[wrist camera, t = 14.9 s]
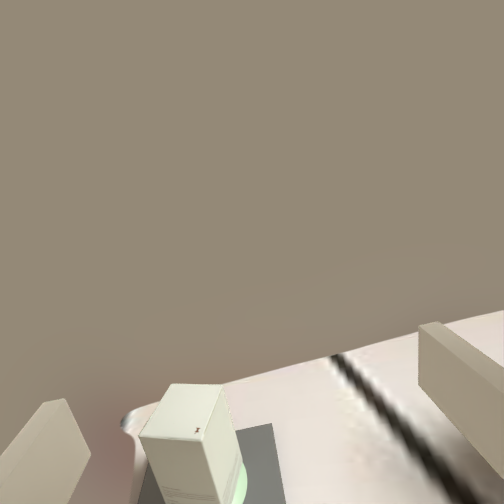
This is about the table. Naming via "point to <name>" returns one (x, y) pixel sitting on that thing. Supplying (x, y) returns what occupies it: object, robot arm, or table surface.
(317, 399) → the table surface
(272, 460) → the charging pad
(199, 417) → the supplement box
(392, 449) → the table surface
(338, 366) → the table surface
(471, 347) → the robot arm
